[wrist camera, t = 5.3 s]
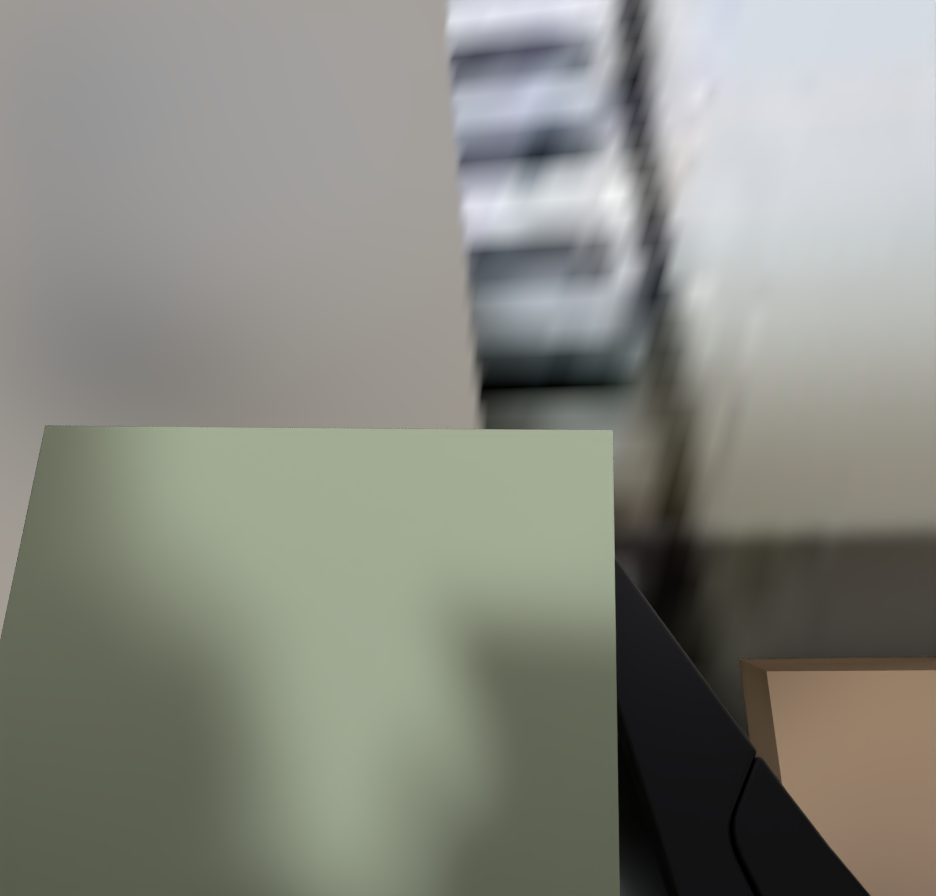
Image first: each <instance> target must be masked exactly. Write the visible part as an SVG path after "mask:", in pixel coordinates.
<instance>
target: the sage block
mask: <svg viewBox="0 0 936 896" xmlns="http://www.w3.org/2000/svg"><path fill="white" fill-rule="evenodd" d="M0 896H620V877H619V812H618V747H617V682H616V618H615V553H614V488H613V430H507V429H387V428H264V427H260V428H259V427H149V426H148V427H147V426H143V427H142V426H45V429H44V434H43V439H42V444H41V449H40V453H39V458H38V463H37V467H36V472H35V477H34V482H33V486H32V491H31V496H30V501H29V505H28V510H27V515H26V520H25V524H24V529H23V534H22V539H21V544H20V549H19V553H18V558H17V563H16V567H15V572H14V577H13V582H12V587H11V592H10V596H9V601H8V606H7V611H6V615H5V620H4V625H3V630H2V634H1V639H0Z"/></svg>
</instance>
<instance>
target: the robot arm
mask: <svg viewBox="0 0 936 896" xmlns="http://www.w3.org/2000/svg"><path fill="white" fill-rule="evenodd" d="M615 618H616V682H617V747H618V812H619V877H620V896H871V895H870V894H869V893H868V892H867V890H866V889H865V888H864V887H863V886H862V884H861V883H860V882H859V881H858V880H857V878H856V877H855V876H854V875H853V874H852V872H851V871H850V870H849V869H848V868H847V866H846V865H845V864H844V863H843V862H842V861H841V859H840V858H839V857H838V856H837V855H836V853H835V852H834V851H833V850H832V849H831V847H830V846H829V845H828V844H827V842H826V841H825V840H824V838H823V837H822V836H821V835H820V833H819V832H818V831H817V829H816V828H815V827H814V825H813V824H812V823H811V822H810V820H809V819H808V818H807V816H806V815H805V814H804V812H803V811H802V810H801V809H800V807H799V806H798V805H797V803H796V802H795V801H794V799H793V798H792V797H791V796H790V794H789V793H788V792H787V790H786V789H785V788H784V786H783V785H782V783H781V782H780V781H779V779H778V778H777V776H776V775H775V774H774V772H773V771H772V770H771V768H770V767H769V765H768V764H767V763H766V761H765V760H764V759H763V758H762V757H760V756H757V757H756V755H757V750H756V748H755V747H754V745H753V744H752V743H751V741H750V740H749V739H748V737H747V736H746V735H745V733H744V732H743V730H742V729H741V728H740V726H739V725H738V724H737V722H736V721H735V719H734V718H733V717H732V715H731V714H730V713H729V711H728V710H727V709H726V707H725V706H724V704H723V703H722V702H721V700H720V699H719V698H718V696H717V695H716V694H715V692H714V691H713V689H712V688H711V687H710V685H709V684H708V683H707V681H706V680H705V679H704V677H703V676H702V674H701V673H700V672H699V670H698V669H697V668H696V666H695V665H694V664H693V662H692V661H691V659H690V658H689V657H688V655H687V654H686V653H685V651H684V650H683V648H682V647H681V646H680V644H679V643H678V642H677V640H676V639H675V638H674V636H673V635H672V633H671V632H670V631H669V629H668V628H667V627H666V625H665V624H664V623H663V621H662V620H661V618H660V617H659V616H658V614H657V613H656V612H655V610H654V609H653V608H652V606H651V605H650V603H649V602H648V601H647V599H646V598H645V597H644V595H643V594H642V592H641V591H640V590H639V588H638V587H637V586H636V584H635V583H634V582H633V580H632V579H631V577H630V576H629V575H628V573H627V572H626V571H625V569H624V568H623V567H622V565H621V564H620V562H619V561H618V560H617V558H616V557H615ZM755 757H756V758H755Z"/></svg>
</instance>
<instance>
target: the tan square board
mask: <svg viewBox="0 0 936 896" xmlns="http://www.w3.org/2000/svg"><path fill="white" fill-rule="evenodd" d="M739 661H740V669H741V676H742V684H743V692H744V700H745V707H746V715H747V723H748V731H749V739H750V741H751V743H752V744H753V745H754V747H755V748H756V750H757V755H756V757H757V756H760V757H762V758H763V759H764V760H765V761H766V763H767V764H768V765H769V767H770V768H771V770H772V771H773V772H774V774H775V775H776V776H777V778H778V779H779V781H780V782H781V783H782V785H783V786H784V788H785V789H786V790H787V792H788V793H789V794H790V796H791V797H792V798H793V799H794V801H795V802H796V803H797V805H798V806H799V807H800V809H801V810H802V811H803V812H804V814H805V815H806V816H807V818H808V819H809V820H810V822H811V823H812V824H813V825H814V827H815V828H816V829H817V831H818V832H819V833H820V835H821V836H822V837H823V838H824V840H825V841H826V842H827V844H828V845H829V846H830V847H831V849H832V850H833V851H834V852H835V853H836V855H837V856H838V857H839V858H840V859H841V861H842V862H843V863H844V864H845V865H846V866H847V868H848V869H849V870H850V871H851V872H852V874H853V875H854V876H855V877H856V878H857V880H858V881H859V882H860V883H861V884H862V886H863V887H864V888H865V889H866V890H867V892H868V893H869V894H870V895H871V896H936V657H872V658H763V659H739ZM756 757H755V758H756Z"/></svg>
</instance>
